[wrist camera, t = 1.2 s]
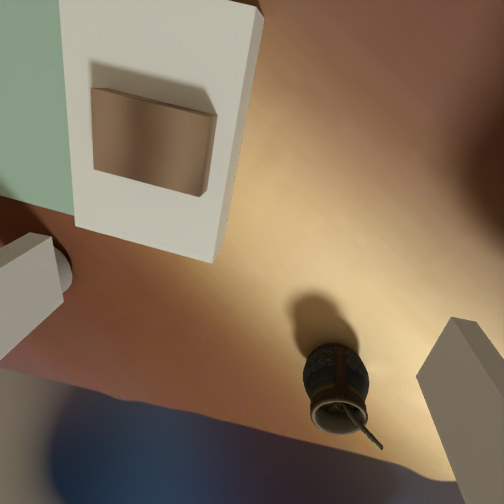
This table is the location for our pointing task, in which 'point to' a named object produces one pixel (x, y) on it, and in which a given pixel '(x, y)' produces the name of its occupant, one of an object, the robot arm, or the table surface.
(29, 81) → the mat
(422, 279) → the table surface
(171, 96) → the white flat block
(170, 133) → the brown wooden slab
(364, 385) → the mate gourd
